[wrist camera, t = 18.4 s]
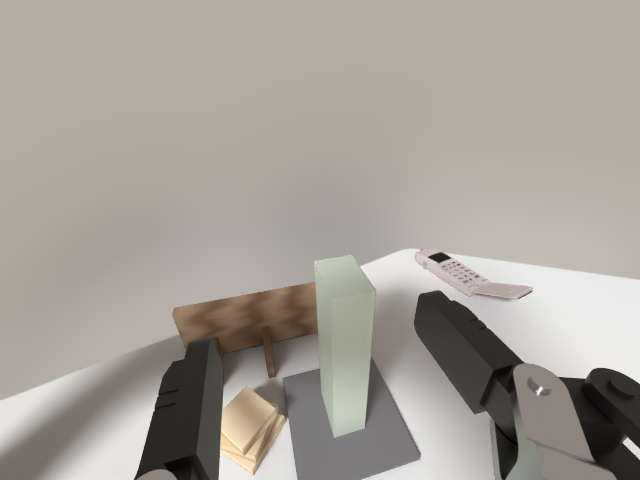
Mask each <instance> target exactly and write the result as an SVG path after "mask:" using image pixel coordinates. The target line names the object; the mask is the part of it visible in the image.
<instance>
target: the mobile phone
mask: <svg viewBox="0 0 640 480" xmlns="http://www.w3.org/2000/svg"><path fill="white" fill-rule="evenodd" d="M415 259H416V261H418V262H419V263H420V264H421V265H422V266H423V268H424V269H427V270H429V271H430V272H432V273H433V274H435V275H436V276H438V277H439V278H441V279H442V280H444V281H445V282H447V283H448V284H450V285H451V286H453V287H454V288H456V289H457V290H459V291H461V292H462V293H464V294H465V295H467V296H468V297H471V296H473V295H475V294H477V293H478V294H485V295H491V296H497V297H504V298H510V299H519V298H521V297H523V296H525V295H527V294H529V293H531V292H532V291H533V287H528V286H522V285H520V286H519V285H510V284H500V283H490V282H489V280H488V279H485V278H483V277H482V276H480V275H479V274H477V273H475V272H474V271H472V270H470V269H469V268H467V267H466V266H464V265H462V264H461V263H459V262H457V261H456V260H454V258H452V257H450V256H449V255H447V254H445V253H443V252H441V251H439V250H437V249H435V248H428V249H426V250H424V249H421V251H419V252H417V253H416V256H415Z"/></svg>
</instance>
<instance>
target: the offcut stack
mask: <svg viewBox="0 0 640 480" xmlns="http://www.w3.org/2000/svg"><path fill="white" fill-rule="evenodd" d="M284 423H285V417H284V416H283V415H281V414H280V413H279V407H278V404H276V403H272V402H269V401H266V400H264V399H263V398H261V397H260V396H259V395H258V394H256V393H255V392H254V391H253V390H251V389H250V388H249V387H247V386H246V387H245V388H244V389H243V390H242V391H241V392H240V393H239V394H238V395H237V396H236V397H235V398H234V399H233V400H232V401H231V402H230V403H229V404H228V405H227V406H226V407H225V408H224V409H223V410H222V421H221V440H220V452H221V453H223V454H224V455H226V456H227V457H228V458H230V459H231V460H233V461H234V462H235V463H237V464H238V465H240V466H241V467H242V468H244V469H245V470H247V471H248V472H250V473H251V474H252V475H254V474H255V472H256V471H257V469H258V467H259V465H260V464H261V462H262V460H263V459H264V457H265V455H266V454H267V452H268V450H269V448H270V447H271V445H272V443H273V442H274V440H275V438H276V437H277V435H278V433H279V431H280V430H281V428H282V426H283V425H284Z"/></svg>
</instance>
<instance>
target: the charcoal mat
mask: <svg viewBox="0 0 640 480" xmlns="http://www.w3.org/2000/svg"><path fill="white" fill-rule="evenodd" d="M283 384H284V391H285V397H286V404H287V411H288V418H289V424H290V431H291V438H292V445H293V451H294V458H295V465H296V472H297V478H298V480H361V479H364V478H367V477H369V476H372V475H375V474H378V473H381V472H384V471H387V470H390V469H393V468H396V467H399V466H402V465H404V464H407V463H410V462H413V461H416V460H419V459H420V455H419V453H418V451H417V449H416V447H415V445H414V443H413V441H412V439H411V437H410V434H409V432H408V430H407V428H406V426H405V424H404V422H403V420H402V418H401V416H400V414H399V412H398V410H397V408H396V406H395V404H394V402H393V400H392V398H391V396H390V394H389V392H388V390H387V387H386V385H385V383H384V381H383V379H382V377H381V375H380V373H379V371H378V369H377V367H376V365H375V363H374V361H373V359H372V357H371V359H370V371H369V383H368V395H367V407H366V419H365V428H364V429H361V430H358V431H355V432H351V433H348V434H345V435H342V436H339V437H336V438H334V436H333V432H332V429H331V425H330V422H329V418H328V414H327V411H326V407H325V404H324V400H323V396H322V393H321V377H320V369H318V370H314V371H310V372H306V373H302V374H298V375H294V376H290V377H286V378H283Z"/></svg>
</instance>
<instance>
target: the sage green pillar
mask: <svg viewBox="0 0 640 480" xmlns="http://www.w3.org/2000/svg"><path fill="white" fill-rule="evenodd" d="M314 265H315V284H316V302H317V321H318V340H319V359H320V377H321V393H322V396H323V400H324V404H325V407H326V411H327V414H328V418H329V422H330V425H331V429H332V432H333V436H334V438H336V437H339V436H342V435H345V434H348V433H351V432H355V431H358V430H361V429H364V428H365V419H366V407H367V395H368V383H369V371H370V359H371V347H372V335H373V323H374V311H375V298H376V290H375V288H374V287H373V285H372V284H371V282H370V281H369V279H368V278H367V276H366V275H365V274H364V272H363V271H362V269H361V268H360V266H359V265H358V263H357V262H356V260H355V259H354V258H353V256H352V255H347V256H341V257H336V258H330V259H325V260H319V261H315V262H314Z"/></svg>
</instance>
